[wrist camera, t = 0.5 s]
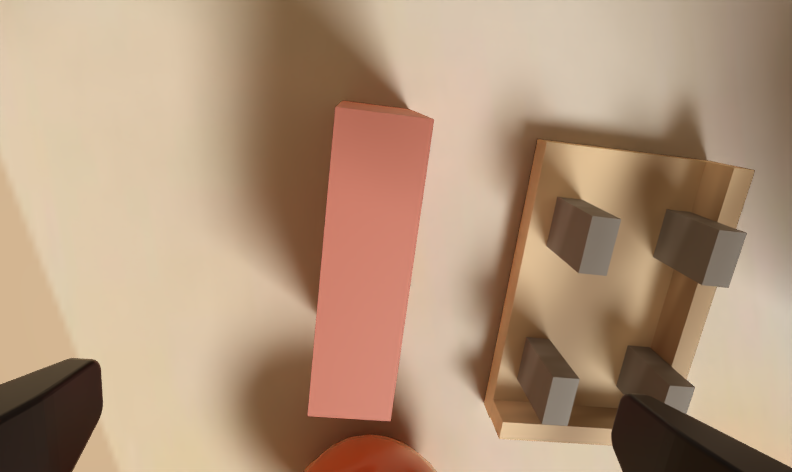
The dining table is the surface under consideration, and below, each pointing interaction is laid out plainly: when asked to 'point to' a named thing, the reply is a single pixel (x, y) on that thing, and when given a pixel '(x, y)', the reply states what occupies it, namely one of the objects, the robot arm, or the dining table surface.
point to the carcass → (609, 286)
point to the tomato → (370, 456)
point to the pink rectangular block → (367, 258)
